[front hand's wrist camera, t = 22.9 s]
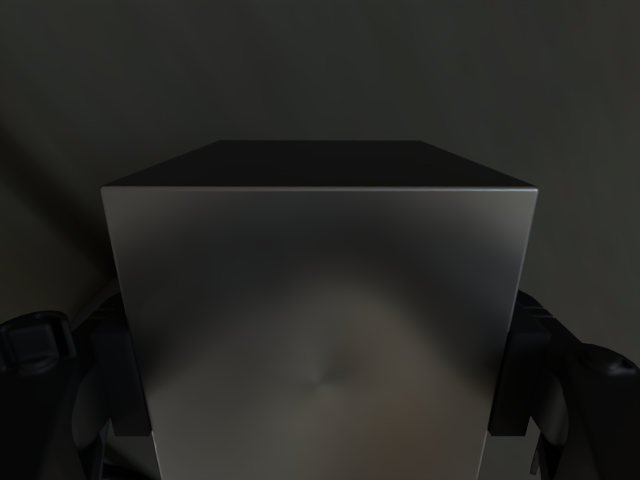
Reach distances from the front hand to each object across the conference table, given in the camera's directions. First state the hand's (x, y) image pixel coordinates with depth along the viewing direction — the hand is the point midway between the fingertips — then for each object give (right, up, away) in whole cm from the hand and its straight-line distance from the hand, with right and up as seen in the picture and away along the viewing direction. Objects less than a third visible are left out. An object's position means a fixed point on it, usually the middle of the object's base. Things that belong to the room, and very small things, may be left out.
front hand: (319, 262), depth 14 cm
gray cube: (0, +1, +2) cm, 2 cm away
